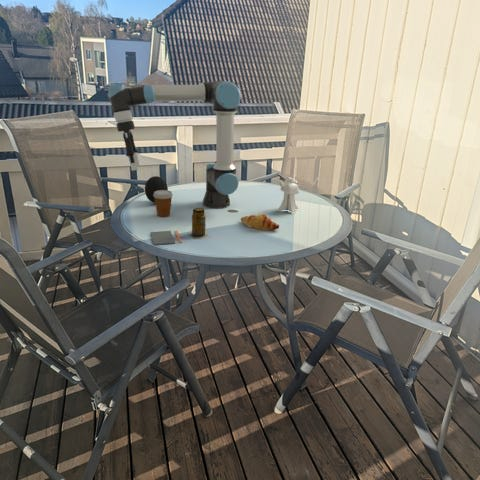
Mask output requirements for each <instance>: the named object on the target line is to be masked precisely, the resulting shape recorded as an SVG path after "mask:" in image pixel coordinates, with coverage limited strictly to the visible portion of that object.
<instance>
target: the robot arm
mask: <svg viewBox="0 0 480 480" xmlns="http://www.w3.org/2000/svg"><path fill="white" fill-rule="evenodd" d="M107 91H108V96H109V100H110V104H111V108H112V111H113V115H112V118H114V120H115V122H116V124H115V125H116V127H117V128H116V129H117V131H118V132H123V133H122V137H123V139H124V145H125V150H126V154H125V155H126V157H128V162H129V165H130V169H131V172H133V171H136V170H137V171H138V170H139V168H138V167H140V162H139V161H140V160H139V157H138V152H139V150H138V149H137V148H136V144H135V141H134V135H133V133H132V131H131V130H135V124H134V121H133V119H134V118H133V114H132V111H131V107H133V106H139V105H145V104H151V103H154V102H201V103H202V104H212V106H213V108H212V110H213V113H215V116H216V120H215V121H216V123H215V124H216V126H215V127H216V130H215V131H216V132H215V134H216V136H215V137H216V142H215V143H216V144H215V145H216V146H215V147H216V152H215V153H216V154H215V156H216V162H210V163H207V164H206V169H205V170H206V173H205V179H206V180H205V184H206V185H205V192H204V196H203V199H202V205H203V206H204V207H206V208H211V209H223V208H224V207H225V208H228V207H229V206H230V205H231V199H230V196H229V195H231V194H233V193H234V192H236V191H237V190H238V188H239V181H240V180H239V179H238V177H237V166H236V165H235V164H234V145H235V144H234V141H235V140H234V138H235V136H234V135H235V134H234V133H235V115H236V114H237V113H238V106H239V104H240V102H241V98H242V97H241V96H242V95H241V91H240V88H239V87H238V85H236V84H235V83H233V82H231V81H228V80H215V81H208V82H207V81H206V82H201V83H200V84H134V85H132V86H131V87H126V85H125V84H123V83H121V84H119V83H118V84H114V85H109V86H108V88H107ZM227 206H228V207H227Z"/></svg>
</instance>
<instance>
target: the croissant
mask: <svg viewBox="0 0 480 480" xmlns="http://www.w3.org/2000/svg"><path fill="white" fill-rule="evenodd" d="M240 221H241V222H242V223H243V225H245V226H247V227H249V228H250V227H251V228H250V229H256V230H259V229H260V230H262V231H265V230H266V231H275V230H278V229H280V224H277V223H276V222H275V221H272V220H271V218H269V217H268V216H267V215H266V214H262V213H261V214H257V215H255V214H251V215H245V216H242V217H241V218H240Z"/></svg>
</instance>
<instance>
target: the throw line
mask: <svg viewBox="0 0 480 480" xmlns="http://www.w3.org/2000/svg"><path fill="white" fill-rule="evenodd" d="M174 233H175V235H176V238H177V240H178V242H179V244H183V239H182V238H181V235H180V233H179V230H174Z"/></svg>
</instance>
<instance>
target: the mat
mask: <svg viewBox="0 0 480 480" xmlns="http://www.w3.org/2000/svg"><path fill="white" fill-rule="evenodd" d="M150 236H151V238H152V239H151V241H152V242H153V245H154V246H163V245H173V244H174V245H175V244H176V241H175V237H174V235H173V234H172V231H171V230H163V231H162V230H161V231H159V230H158V231H151V232H150Z"/></svg>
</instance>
